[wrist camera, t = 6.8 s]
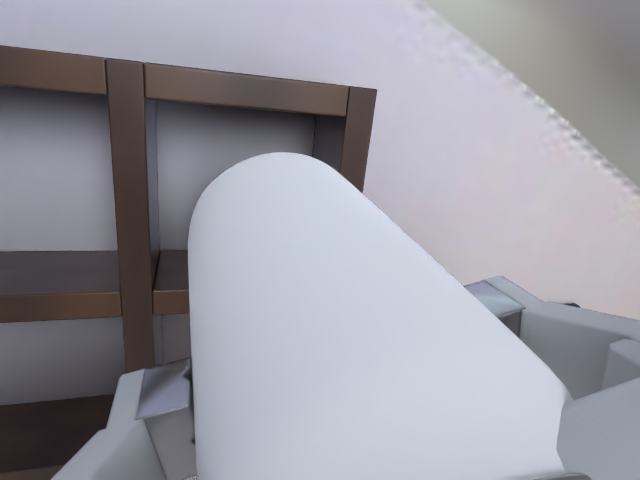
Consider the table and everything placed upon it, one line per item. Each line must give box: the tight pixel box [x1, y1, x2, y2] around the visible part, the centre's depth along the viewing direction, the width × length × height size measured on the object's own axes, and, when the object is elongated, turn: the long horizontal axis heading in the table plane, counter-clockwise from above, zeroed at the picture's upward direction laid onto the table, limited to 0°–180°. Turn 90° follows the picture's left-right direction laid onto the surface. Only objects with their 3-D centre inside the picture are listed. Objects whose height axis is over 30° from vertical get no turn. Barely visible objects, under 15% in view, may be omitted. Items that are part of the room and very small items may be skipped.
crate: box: [0, 45, 377, 480], centre depth 19 cm, size 19×19×4 cm
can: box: [188, 152, 592, 480], centre depth 10 cm, size 6×6×12 cm
